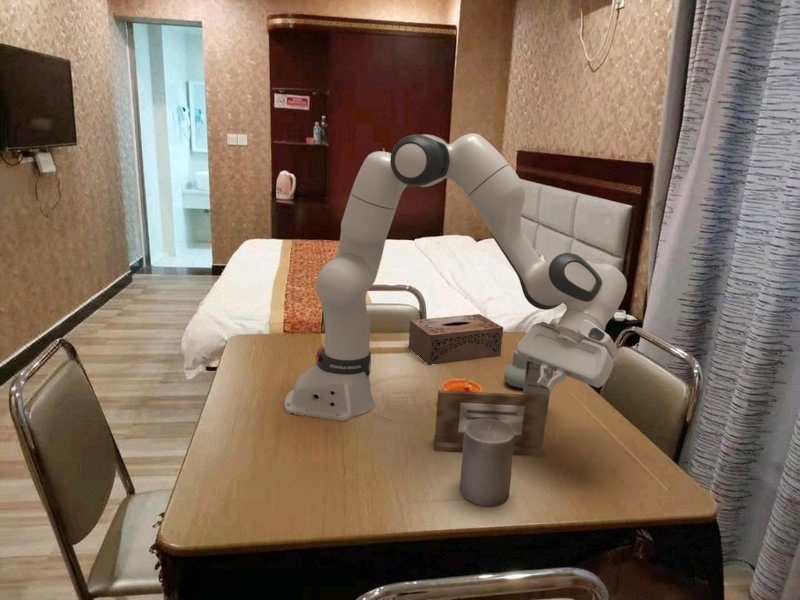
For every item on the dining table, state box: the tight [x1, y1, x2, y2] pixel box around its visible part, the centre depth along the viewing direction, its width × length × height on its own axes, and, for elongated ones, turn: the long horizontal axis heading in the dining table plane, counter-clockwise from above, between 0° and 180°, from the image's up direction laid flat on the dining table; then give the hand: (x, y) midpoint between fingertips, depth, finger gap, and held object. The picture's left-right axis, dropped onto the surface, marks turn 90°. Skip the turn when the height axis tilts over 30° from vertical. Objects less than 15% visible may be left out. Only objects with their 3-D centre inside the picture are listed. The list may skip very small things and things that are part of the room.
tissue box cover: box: [408, 313, 504, 366], centre depth 186 cm, size 26×14×10 cm, turn 114°
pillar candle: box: [459, 418, 514, 507], centre depth 112 cm, size 10×10×15 cm
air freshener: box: [503, 348, 527, 389], centre depth 164 cm, size 11×8×10 cm
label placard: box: [433, 389, 549, 457], centre depth 129 cm, size 24×5×13 cm, turn 89°
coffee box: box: [522, 360, 554, 424], centre depth 146 cm, size 9×6×16 cm
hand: (543, 387), depth 118 cm, fingers closed
